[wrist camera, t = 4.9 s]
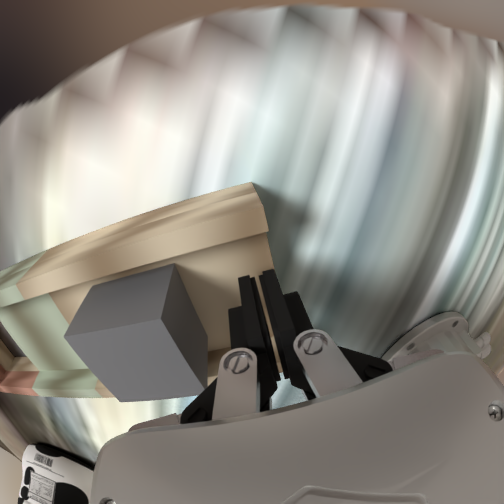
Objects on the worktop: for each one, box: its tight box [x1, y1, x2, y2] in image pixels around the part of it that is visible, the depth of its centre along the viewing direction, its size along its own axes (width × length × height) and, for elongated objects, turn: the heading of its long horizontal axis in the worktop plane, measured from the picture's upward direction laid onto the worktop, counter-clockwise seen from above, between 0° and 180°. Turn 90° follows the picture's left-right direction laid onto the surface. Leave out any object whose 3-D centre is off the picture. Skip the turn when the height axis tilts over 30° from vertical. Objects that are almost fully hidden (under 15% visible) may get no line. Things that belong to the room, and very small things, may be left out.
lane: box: [0, 182, 283, 398], centre depth 14 cm, size 28×10×4 cm, turn 103°
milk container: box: [18, 444, 94, 504], centre depth 24 cm, size 17×17×18 cm
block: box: [63, 263, 208, 402], centre depth 12 cm, size 5×5×4 cm
